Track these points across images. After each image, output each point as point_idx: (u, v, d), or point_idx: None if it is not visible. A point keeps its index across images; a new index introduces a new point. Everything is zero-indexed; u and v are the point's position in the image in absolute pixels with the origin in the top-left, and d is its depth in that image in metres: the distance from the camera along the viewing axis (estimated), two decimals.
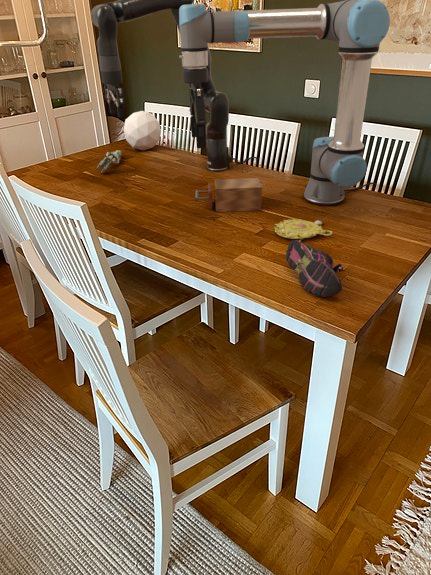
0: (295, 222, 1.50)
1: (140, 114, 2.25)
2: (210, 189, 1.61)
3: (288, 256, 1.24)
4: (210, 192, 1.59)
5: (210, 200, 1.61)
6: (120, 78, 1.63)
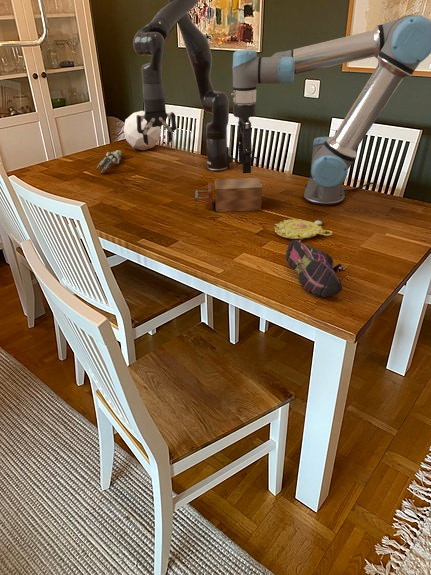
0: (295, 222, 1.50)
1: (140, 114, 2.25)
2: (210, 189, 1.61)
3: (288, 256, 1.24)
4: (210, 192, 1.59)
5: (210, 200, 1.61)
6: None
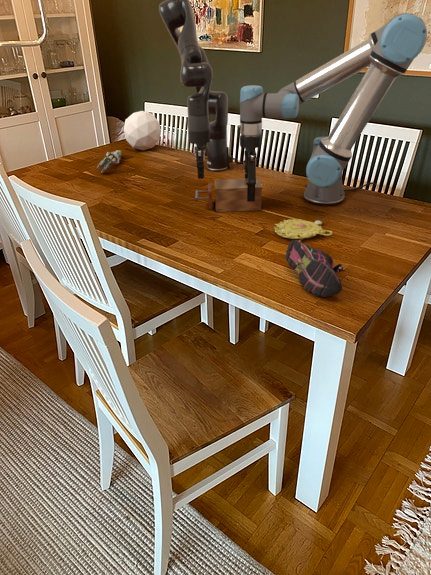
0: (295, 222, 1.50)
1: (140, 114, 2.25)
2: (210, 189, 1.61)
3: (288, 256, 1.24)
4: (210, 192, 1.59)
5: (210, 200, 1.61)
6: None
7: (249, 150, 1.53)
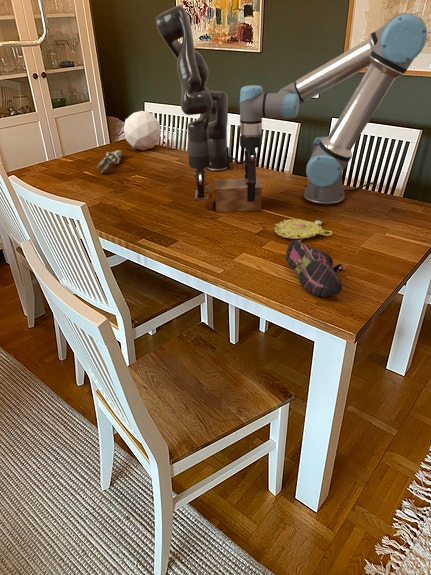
0: (295, 222, 1.50)
1: (140, 114, 2.25)
2: (210, 189, 1.61)
3: (288, 256, 1.24)
4: (210, 192, 1.59)
5: (210, 200, 1.61)
6: None
7: (249, 150, 1.53)
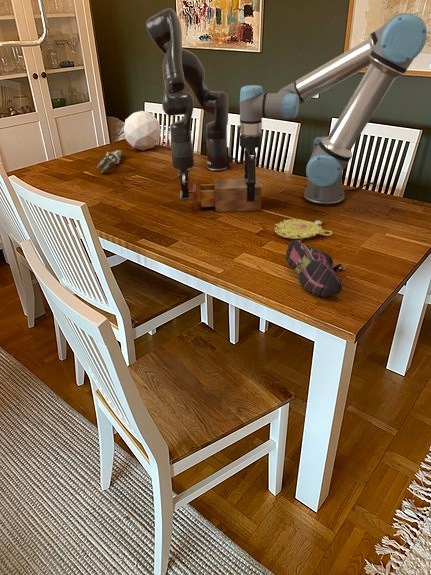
0: (295, 222, 1.50)
1: (140, 114, 2.25)
2: (194, 189, 1.61)
3: (288, 256, 1.24)
4: (194, 192, 1.59)
5: (194, 200, 1.61)
6: None
7: (249, 150, 1.53)
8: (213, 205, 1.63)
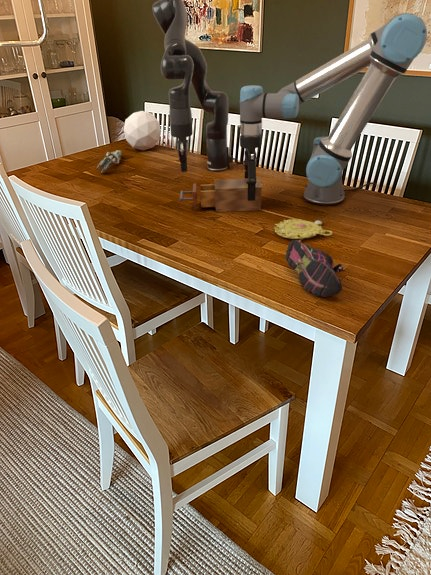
0: (295, 222, 1.50)
1: (140, 114, 2.25)
2: (195, 190, 1.61)
3: (288, 256, 1.24)
4: (194, 193, 1.59)
5: (195, 201, 1.61)
6: None
7: (249, 150, 1.53)
8: (213, 205, 1.63)
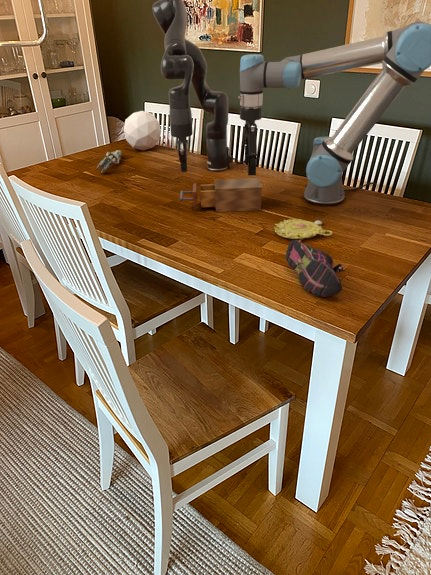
0: (295, 222, 1.50)
1: (140, 114, 2.25)
2: (195, 190, 1.61)
3: (288, 256, 1.24)
4: (194, 193, 1.59)
5: (195, 201, 1.61)
6: None
7: (249, 122, 1.48)
8: (213, 205, 1.63)
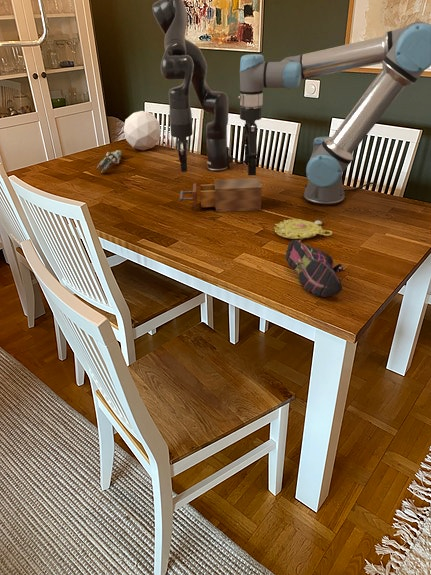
0: (295, 222, 1.50)
1: (140, 114, 2.25)
2: (195, 190, 1.61)
3: (288, 256, 1.24)
4: (194, 193, 1.59)
5: (195, 201, 1.61)
6: None
7: (249, 122, 1.48)
8: (213, 205, 1.63)
